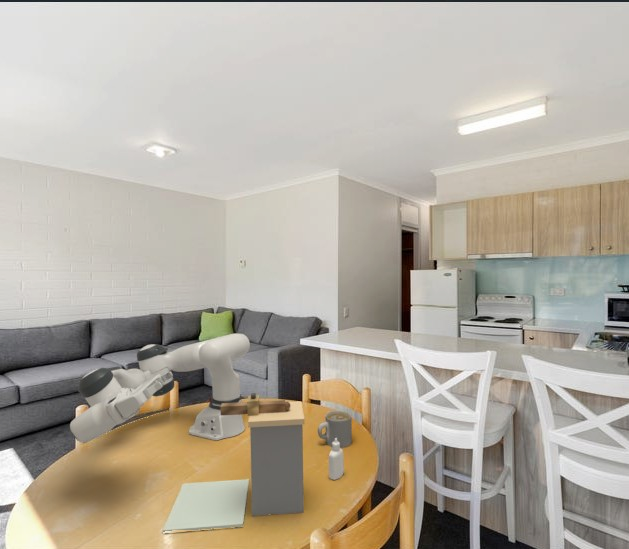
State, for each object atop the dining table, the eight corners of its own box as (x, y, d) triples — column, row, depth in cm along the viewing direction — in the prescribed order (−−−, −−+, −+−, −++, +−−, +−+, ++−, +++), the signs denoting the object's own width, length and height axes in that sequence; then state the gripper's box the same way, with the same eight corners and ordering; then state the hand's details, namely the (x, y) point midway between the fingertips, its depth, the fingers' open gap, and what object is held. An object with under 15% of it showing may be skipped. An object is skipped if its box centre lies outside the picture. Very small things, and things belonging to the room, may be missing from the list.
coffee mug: (347, 434, 146) (347, 409, 146) (355, 446, 136) (354, 419, 136) (314, 437, 144) (314, 412, 143) (320, 450, 134) (319, 423, 134)
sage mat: (162, 534, 93) (162, 530, 93) (183, 486, 112) (183, 483, 112) (242, 527, 95) (242, 523, 95) (249, 482, 114) (249, 479, 114)
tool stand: (249, 517, 98) (248, 421, 98) (253, 488, 111) (251, 403, 110) (305, 513, 100) (304, 418, 99) (302, 485, 113) (301, 401, 112)
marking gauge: (219, 417, 101) (219, 398, 101) (222, 410, 106) (222, 392, 106) (290, 413, 103) (290, 395, 103) (290, 406, 108) (290, 389, 108)
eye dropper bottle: (325, 474, 118) (325, 437, 118) (341, 470, 120) (340, 434, 120) (331, 481, 114) (330, 443, 114) (347, 477, 116) (346, 439, 116)
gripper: (143, 399, 119) (181, 377, 120) (115, 427, 98) (161, 399, 99) (133, 383, 118) (171, 360, 119) (103, 407, 98) (149, 380, 99)
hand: (166, 378), depth 109 cm, fingers open, 8 cm apart
